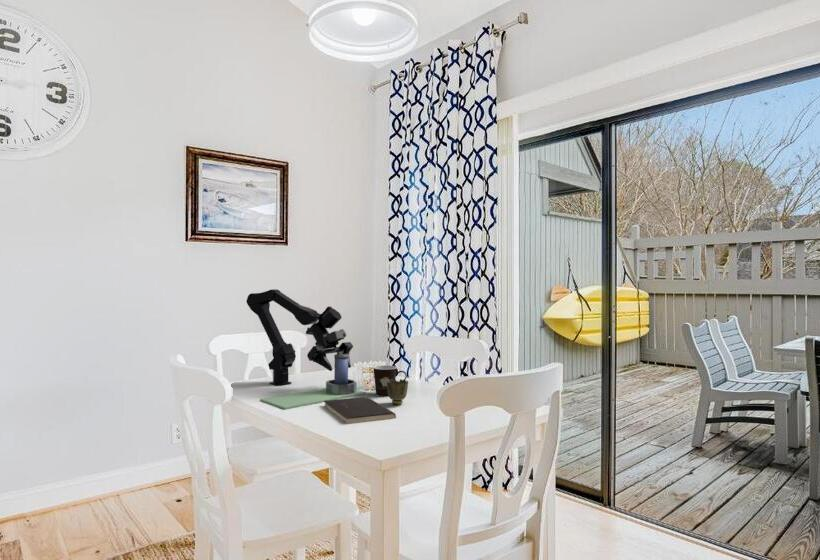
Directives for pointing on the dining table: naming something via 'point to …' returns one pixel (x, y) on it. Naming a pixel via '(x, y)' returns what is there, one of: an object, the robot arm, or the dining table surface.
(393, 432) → the dining table surface
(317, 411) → the dining table surface
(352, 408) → the hardcover book
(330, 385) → the cup
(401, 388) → the cup
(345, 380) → the golf ball sleeve
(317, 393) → the putting mat
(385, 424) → the dining table surface
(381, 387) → the coffee mug
